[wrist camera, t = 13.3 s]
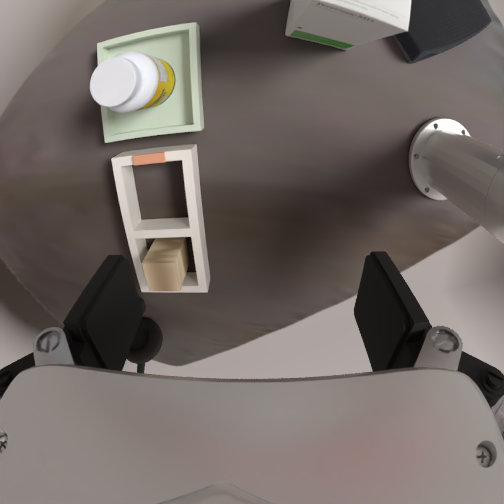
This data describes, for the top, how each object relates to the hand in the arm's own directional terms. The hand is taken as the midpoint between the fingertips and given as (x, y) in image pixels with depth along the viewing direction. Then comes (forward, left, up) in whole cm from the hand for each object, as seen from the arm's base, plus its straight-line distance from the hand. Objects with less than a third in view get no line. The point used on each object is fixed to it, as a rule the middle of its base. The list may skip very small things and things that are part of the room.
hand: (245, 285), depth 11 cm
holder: (+12, +10, -28) cm, 32 cm away
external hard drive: (-26, -23, -29) cm, 45 cm away
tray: (+12, -9, -28) cm, 32 cm away
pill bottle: (+12, -9, -28) cm, 31 cm away
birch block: (+12, +15, -28) cm, 34 cm away
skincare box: (-9, -17, -28) cm, 34 cm away
